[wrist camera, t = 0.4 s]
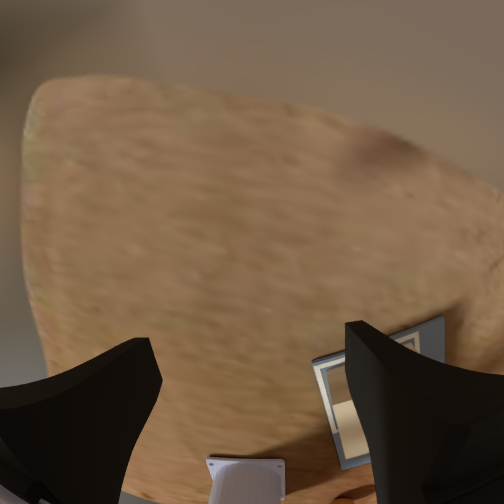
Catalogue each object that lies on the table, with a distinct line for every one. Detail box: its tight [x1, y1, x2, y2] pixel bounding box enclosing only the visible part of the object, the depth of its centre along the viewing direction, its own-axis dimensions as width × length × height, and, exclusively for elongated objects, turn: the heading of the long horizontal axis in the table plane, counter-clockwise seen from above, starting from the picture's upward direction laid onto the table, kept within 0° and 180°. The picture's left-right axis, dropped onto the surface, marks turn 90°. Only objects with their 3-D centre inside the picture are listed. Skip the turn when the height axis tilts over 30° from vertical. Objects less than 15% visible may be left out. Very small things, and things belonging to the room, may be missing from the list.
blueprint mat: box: [312, 315, 445, 470], centre depth 22 cm, size 16×11×1 cm
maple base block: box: [325, 342, 418, 459], centre depth 19 cm, size 7×7×4 cm
